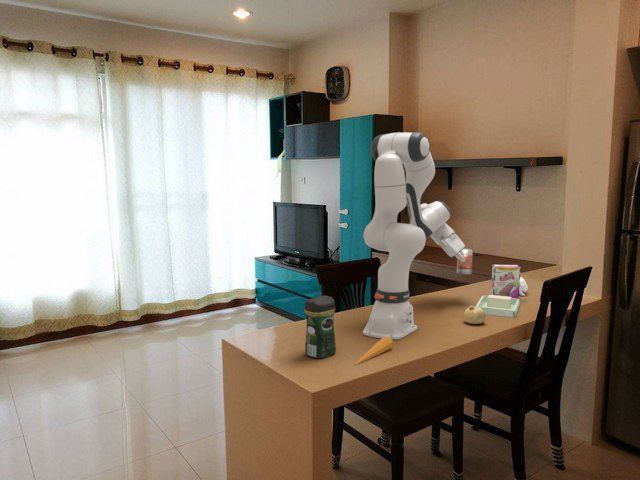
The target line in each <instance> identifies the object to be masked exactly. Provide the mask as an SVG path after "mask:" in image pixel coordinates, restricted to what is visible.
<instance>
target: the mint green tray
mask: <svg viewBox="0 0 640 480" xmlns="http://www.w3.org/2000/svg"><path fill="white" fill-rule="evenodd" d="M488 296H489V295H482V296H481V297H480V299H479V300H478V302H477V303H476V305H474V306H475V307H479V308H481V309H482V310H484V312H485V314H486V315H489V316H497V317H506V318H514V319H515V318H516V316H517V313H518V310H519V308H520V298H519V299H515V298H511V308H510V309H505V308H495V307H487V297H488Z"/></svg>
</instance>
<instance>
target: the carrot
mask: <svg viewBox="0 0 640 480" xmlns="http://www.w3.org/2000/svg"><path fill="white" fill-rule="evenodd" d="M393 346H394V341H393V339H391V338H390V337H383V338H382V339H381V338H380V339H379V341H377V342H376V343H375V344H374V345H373V346H372V347H371V348H370V349H369V350H368V351H366V352H365V353H364V354H363V355H362V356H361V357H360V358H359V359H358V361H356V363H354V366H356V365H359V364H360V363H364V362H366V361H368V360H370V359H372V358H375V357H376V356H379V355H382V354H383V353H385V352H386V351H387V352H388V351H389V350H390V349H392V347H393Z"/></svg>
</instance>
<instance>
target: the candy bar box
mask: <svg viewBox="0 0 640 480" xmlns="http://www.w3.org/2000/svg"><path fill="white" fill-rule="evenodd" d="M491 266H492V267H491V282H490V283H491V284H490V295H498V296H508V297H511V298H515V299H520V294H519V286H520V277H521V271H522V270H521V268H522V267H521V266H519V265H518V264H492V265H491Z"/></svg>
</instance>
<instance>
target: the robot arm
mask: <svg viewBox="0 0 640 480" xmlns="http://www.w3.org/2000/svg"><path fill="white" fill-rule="evenodd" d="M430 149H431V144H430V139H429V138H428V137H427V135H425V133H423V132H419V131H414V132H400V131H398V132H390V133H383V134H379V135H377V136H375V137H374V138H373V140H372V141H371V145H370V153H371V156H372V158H373V160H374V162H375V165H374V171H373V172H374V175H373V177H374V179H373V180H374V196H375V200H374V201H375V202H374V203H375V206H374V213H373V217H372V219H371V221H370V222H369V223H368V224H367V225H366V227H365V229H364V231H363V240H364V242H365V243H364V244H365V245H367V246H368V247H369V248H372V249H374V250H377V251H382V252H388V259H387V260H386V262H384V263H383V264H382V265H380V266H379V268H378V269H377V270H378V271H377V288H376V292H375V294H374V299H375V301H374V304H373V306H372V309H371V312H370V315H369V319H368V320H367V321H368V322H367V323H366V325H365V326H364V328H363V330H362V335H364V336H367V337H370V338H376V339H380V340H381V339H382V338H383V337H390V338H391V339H392V340H401V339H402V338H404V337H406V336H408V335H410V334H411V333H413V332H415V331H417V330H418V326H417V325H416V324H414V306H413V305H412V304H411V303H410V289H409V278H410V277H409V275H410V268H411V264H412V262H413V261H414V259H415V257H416V256H417V255H418V254H420V253H421V252H422V251H423V250H424V248H425V245H426V241H427V239H429V238H431V240H433V242H435V244H436V245H437V246H440V248H442V250H443V251H444V253H446V254H447V255H448V256H449V257H450V258H453V257H455V258H456V259H457V258H458V259H459V260H460V261H461V262H465V261H466V259H465V258H464V257H463V256H462V255H461V254H460V253H459V251H460V250H461V249H465V247H466V245H465V243H464V242H463V241H462V239H461V237H459V236H458V235H457V234H456V230H455V229H454V228H452V227H450V225H448V223H446V222H448V220H449V219H450V218H451V213H452V212H451V208H450V206H448V205H447V204H446V202H444V201H442V200H441V201H440V200H436V201H434V202H431V203H429V204H428V203H426V202H425V203H422V204H421V199H422V195H423V193H425V191H426V189H427V188H428V186H429V185H430V184H431V182H432V180H433V179H434V177H435V174H436V165H435V162H434V159H433V157H432V153H431V151H430ZM405 208H407V214H408V215H407V216H408V223H404V222H403V223H402V222H398V215H399V213H400V212H402V211H403V210H404V209H405Z"/></svg>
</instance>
